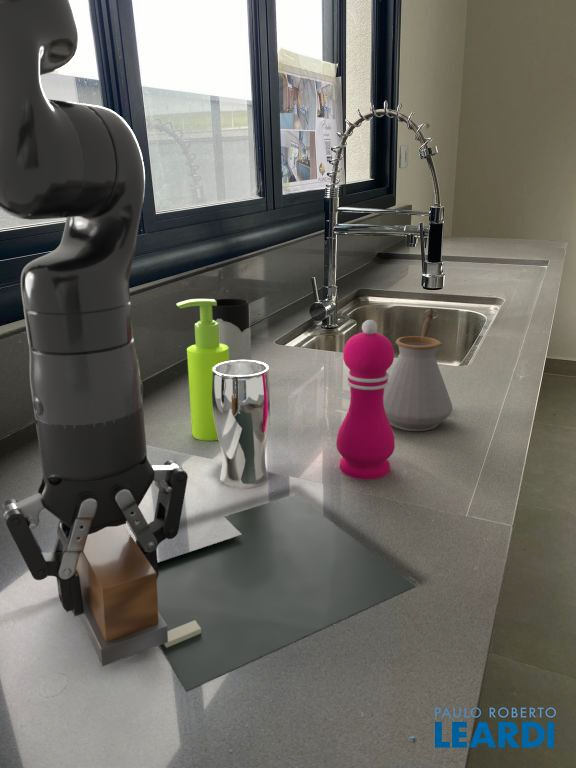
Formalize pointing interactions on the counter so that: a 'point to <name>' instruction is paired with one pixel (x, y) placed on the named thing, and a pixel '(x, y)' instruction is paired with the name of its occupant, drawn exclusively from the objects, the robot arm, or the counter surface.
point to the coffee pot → (417, 384)
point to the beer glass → (242, 420)
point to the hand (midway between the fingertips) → (111, 596)
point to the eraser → (119, 596)
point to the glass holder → (234, 327)
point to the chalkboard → (266, 588)
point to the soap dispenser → (203, 368)
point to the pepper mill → (366, 406)
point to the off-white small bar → (182, 633)
